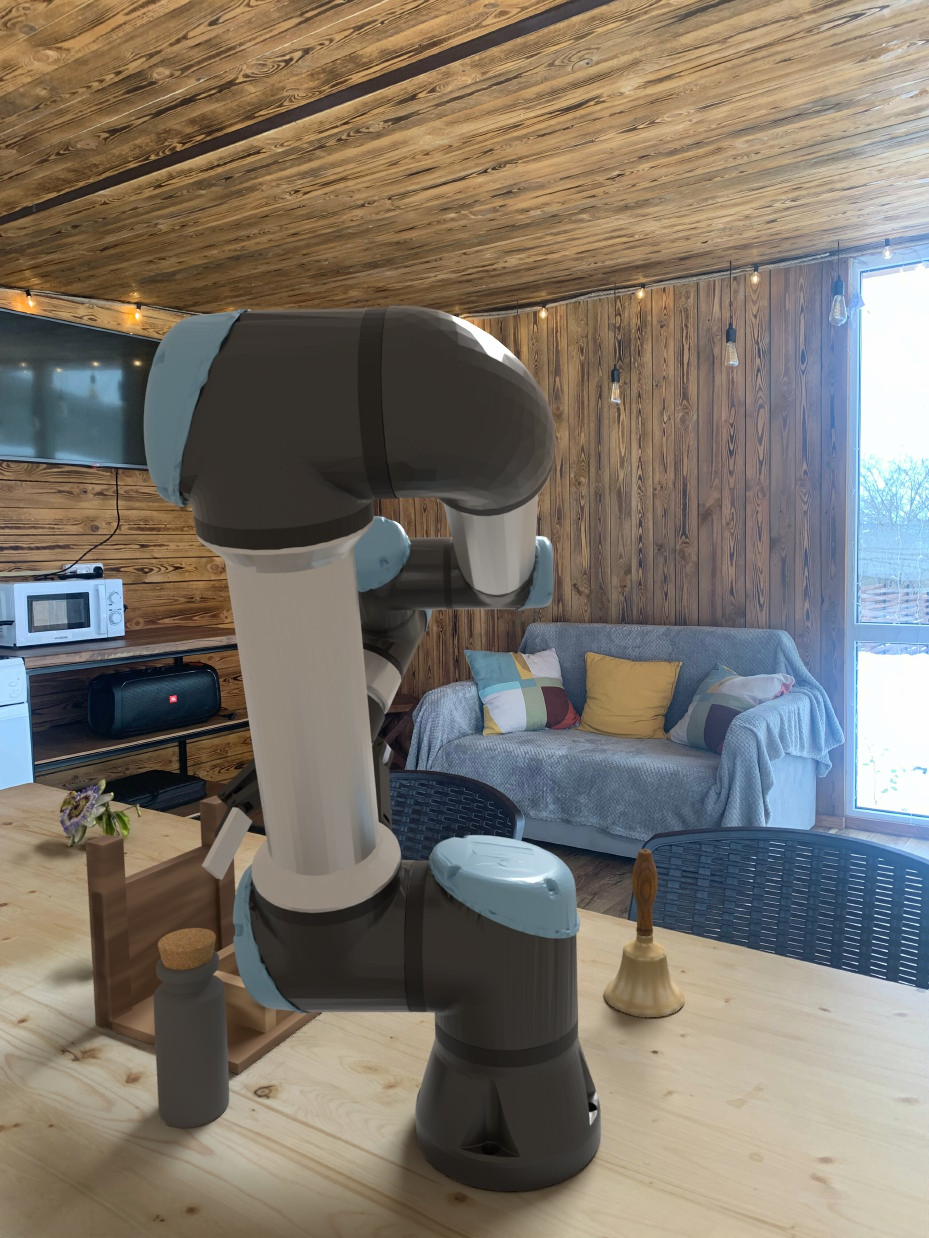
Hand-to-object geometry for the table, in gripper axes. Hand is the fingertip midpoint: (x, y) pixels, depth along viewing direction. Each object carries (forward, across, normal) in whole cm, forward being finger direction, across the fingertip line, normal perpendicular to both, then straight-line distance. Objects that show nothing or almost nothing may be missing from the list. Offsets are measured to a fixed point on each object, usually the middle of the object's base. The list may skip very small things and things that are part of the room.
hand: (265, 884), depth 87 cm
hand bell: (-6, -29, -30) cm, 42 cm away
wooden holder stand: (+8, +9, -14) cm, 19 cm away
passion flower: (-13, +67, -36) cm, 78 cm away
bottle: (+19, 0, -4) cm, 19 cm away
